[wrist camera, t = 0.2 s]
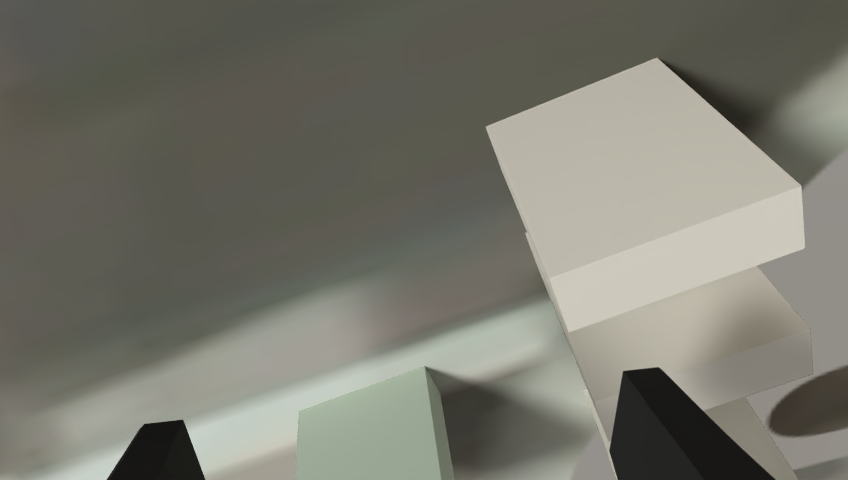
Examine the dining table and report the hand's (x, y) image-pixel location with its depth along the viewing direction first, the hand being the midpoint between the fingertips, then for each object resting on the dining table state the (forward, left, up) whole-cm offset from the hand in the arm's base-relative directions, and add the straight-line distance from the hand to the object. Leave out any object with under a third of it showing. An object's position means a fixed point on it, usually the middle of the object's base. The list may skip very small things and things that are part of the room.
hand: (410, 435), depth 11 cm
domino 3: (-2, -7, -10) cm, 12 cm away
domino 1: (-10, 0, -10) cm, 14 cm away
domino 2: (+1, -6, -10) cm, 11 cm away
